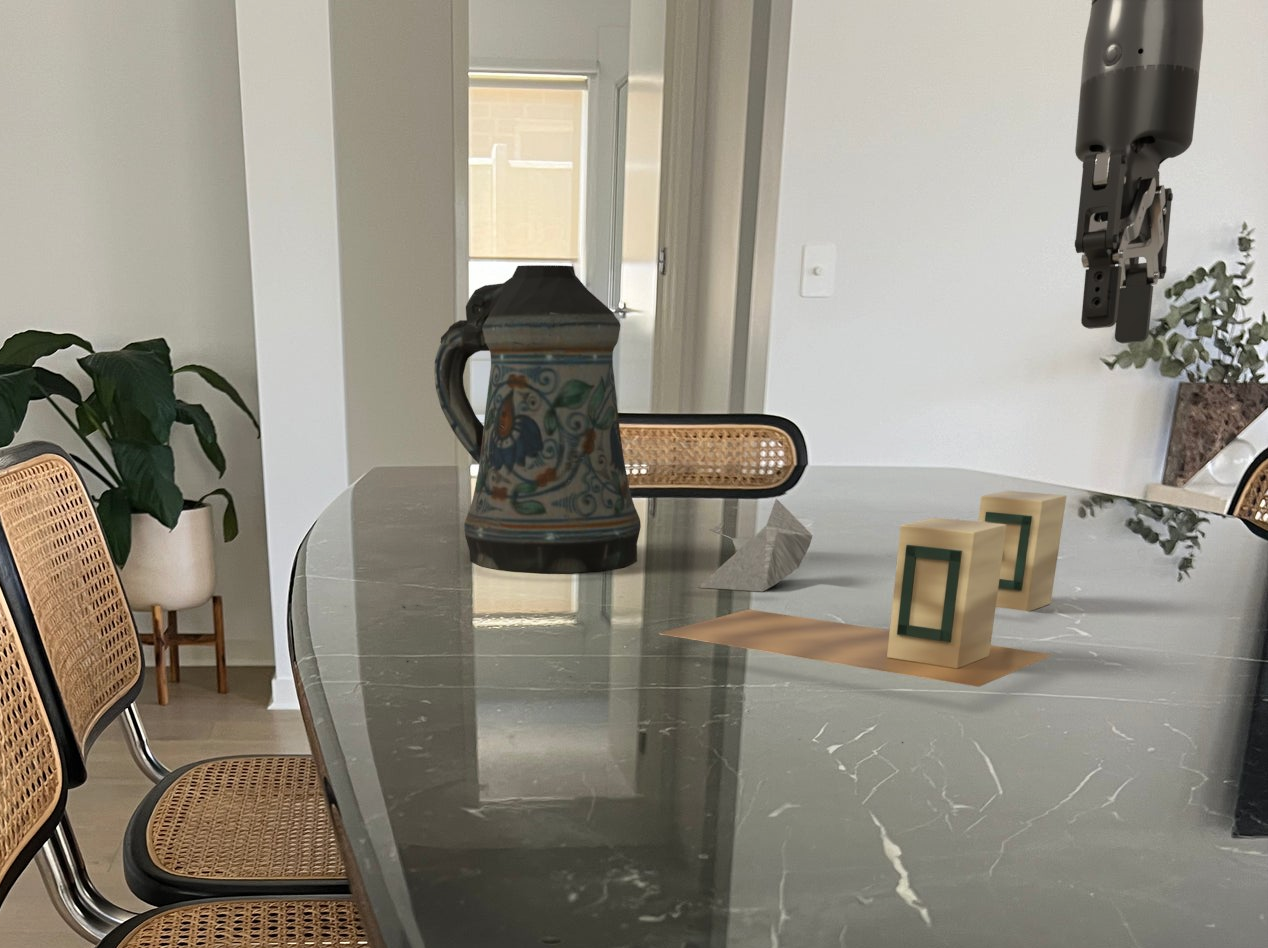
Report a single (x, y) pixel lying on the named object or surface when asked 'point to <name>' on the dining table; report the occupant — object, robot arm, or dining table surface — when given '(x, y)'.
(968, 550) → the letter O
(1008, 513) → the letter G
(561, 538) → the beer stein
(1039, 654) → the word mat
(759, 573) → the paper boat
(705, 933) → the dining table surface
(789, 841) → the dining table surface
